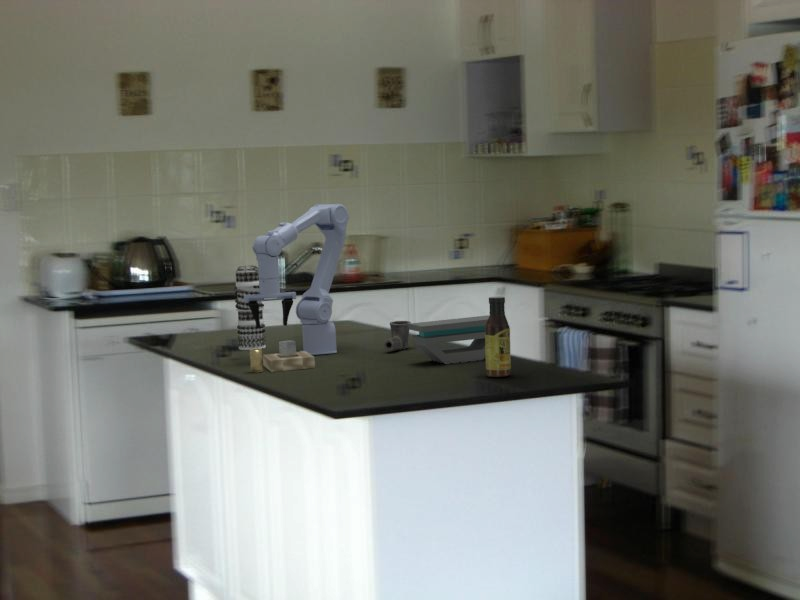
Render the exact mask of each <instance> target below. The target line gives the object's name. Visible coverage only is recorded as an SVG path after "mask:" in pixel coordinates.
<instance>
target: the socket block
mask: <svg viewBox="0 0 800 600" xmlns="http://www.w3.org/2000/svg"><path fill="white" fill-rule="evenodd" d="M300 351H301V350H300ZM300 351H296V357H286V358H280V354H279V353H267V354H262V364H263V367H264V368H266V369H267V370H268V371H269V372H271V373H273V372H285V371H293V370H294V371H297V370H305V369H306V370H307V369H316V361H315V358H316V357H315V355H311V354H309V353H307V352H306V351H301V352H300Z"/></svg>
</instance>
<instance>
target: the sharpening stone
mask: <svg viewBox="0 0 800 600" xmlns="http://www.w3.org/2000/svg"><path fill="white" fill-rule="evenodd" d="M489 316H490V314H489V315H480V316H470V317H469V316H468V317H461V318H459V317H458V318H451V319H441V320H439V319H438V320H431V321H421V322H411V323H410V324H409V331H410V330H411V331H413V332H418V334H415V335H413V334H412V343H413V345H414V346H416V347H417V348H418V350H420V351H421V352H422V353H424V355H425V356H427V357H428V358H429V359H430V360H431V361H432V360H433V361H432V362H435V361H437V362H436V363H439V362H440V363H439V364H442V363H444V365H451V364H450V363H453V364H459V362H461V363H467V362H468V361H470V362H476V361H477V360H478V361H483V360H485V359H486V354H485V334H486V331H485V330H486V329H485V325H486V322H487V320H488V318H489ZM471 340H472V341H471ZM461 341H463V342H464V341H471V343H470V344H469V346H461V347H452V348H442V349H441V348H440V347H439V346H438V345H437V344H445V343H453V342H461Z"/></svg>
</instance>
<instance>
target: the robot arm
mask: <svg viewBox="0 0 800 600" xmlns="http://www.w3.org/2000/svg"><path fill="white" fill-rule="evenodd" d="M349 220H350V215H349V213H348V209H347V208H346V207H345V205H344V204H341V203H336V204H335V203H334V204H331V203H330V204H328V203H327V204H323V203H317V204H315V205H314V206H312V207H309V210H308V211H306V212H304V214H302V215H301V216H300V217H297V219H294V221H292V222H284V221H283V222H280V223H278V227H276V228H274V229H273V230H268V231H267V233H266V234H265V235H259V236H257V237H256V238H255V240H254V242H253V246H251V249H252V250H253V251H252V252H253V253H254V254H255V257H256V258H255V259H256V261H257V267H258V273H259V290H260V294H254V295H244V302H245V303H248V306H249V308H250V309H251V311H252V314H253V316H254V319H255V322H256V327H257V328H260V320H259V304H258V303H257V302H259V301H262V302H269V301H270V302H271V301H281V305H282V306H281V308H282V325H283V326H284V327H285V326H288V319H289V315H290V311H291V308H292V307H293V304H294V300H297V292H296V291H287V292H286V291H285V292H284V291H282V292H281V285H280V269H279V268H280V267H279V256H280V255H281V253H282V251H283V249H284V248H285V247H287V246H288V245H290V244H291V243H293V242H294V241H296V240H297V238H298V235H299V233H301V232H303V231H304V230H306V229H308V228H311V226H314V225H315V226H316V227H317V229H318V230H319V231H320V233H322V235H324V238H325V240H324V243H323V247H322V249H321V250H322V251H321V253H320V255H319V256H320V257H319V260H318V263H317V266H316V269H315V273H314V275H313V279H312V282H311V285H310V287H309V289H307V290H306V291H305V292H304V293H302V296H301V299H300V300H299V301H298V302H297V304H296V307H295V315H296V317H297V318H298V320H299V322H300V324H301V327H302V328H301V329H302V345H303V347H302V349H303V350H302V349H301V350H299V352H301V351H306V352H307V353H309V354H311V355H312V356H316V355H327V354H337V353H338V351H337V350H338V349H337V333H336V332H337V330H336V326H335V323H334V322H333V321H329V320H330V319H331V317H332V314H333V308H332V307H333V302H334V300H333V298H332V297H331V295H330V289H331V287H332V283H333V280H334V277H335V273H336V270H337V267H338V264H339V261H340V257H341V255H342V251H343V248H344V245H345V241H346V236H347V235H346V234H347V233H346V232H347V227H348V223H349Z"/></svg>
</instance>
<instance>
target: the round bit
mask: <svg viewBox="0 0 800 600" xmlns="http://www.w3.org/2000/svg"><path fill="white" fill-rule="evenodd" d="M249 361H250V362H249V363H250V373H251V372H254V373H253V374H259V372H261V373H264V366H263V349H252V350H249Z"/></svg>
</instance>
